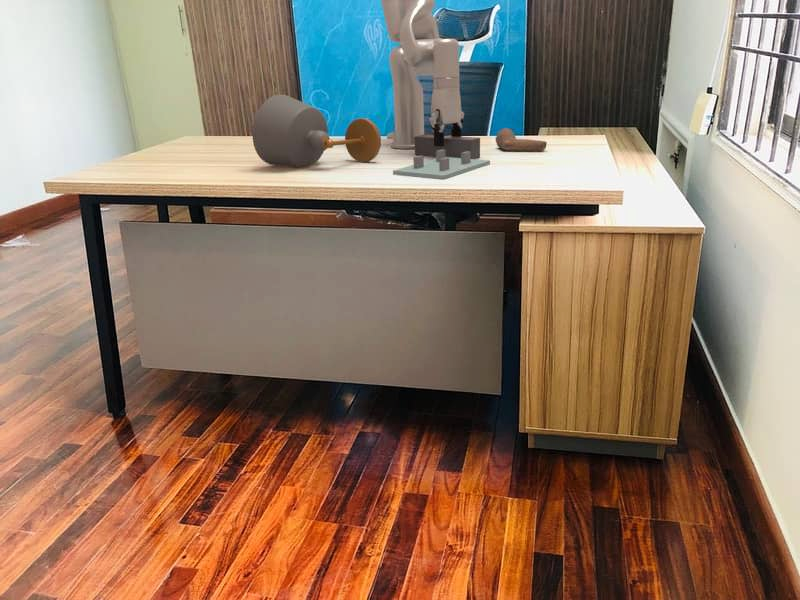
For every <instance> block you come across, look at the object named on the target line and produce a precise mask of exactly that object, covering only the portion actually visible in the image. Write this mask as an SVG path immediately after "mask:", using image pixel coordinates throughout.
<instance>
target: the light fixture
mask: <svg viewBox="0 0 800 600" xmlns="http://www.w3.org/2000/svg"><path fill="white" fill-rule="evenodd" d="M327 123H328V122H327V119H326V118H325V116H324V113H322V111H320V110H319V109H318V108H316V107H314V106H312V105H309V104H308V103H305V102H303V101H300V100H299V99H296V98H294V97H291V96H290V95H288V94H287V95H286V94H274V95H272V96H271V97H270V96H269V98H267V99H266V100H265V101H264V102H263V103H262V104H261V105H260V107H259V109H258V111H257V112H256V115H255V117H254V121H253V125H252V143H253V147H254V150H255V152H256V154H257V156H258V157H259V158H260V159H261V160H262V161H263V162H265V163H266V164H268V165H272V166H279V165H280V167H291V168H301V169H304V168H305V167H306V168H309V166H310V167H311V166H314V165H315V164H316V163H317V162H318V161H319V160H320V159H321V157H322V155H323V154H324V152H325V151H326V150H327V149H332V148H334V146H341V145H342V146H343V145H345V147H346V150H347V153H348V154H349V156H350V157H351V158H352V159H353V160H355V161H356V162H359V163H366V162H370V161H373V160H374V159H375V158H377V156H378V154H379V153H380V150H381V147H382V146H381V144H382V138H381V132H380V130H379V128H378V127H377V124H375V123H374V122H373V121H372V120H370V118H366V117H365V118H363V117H362V118H356V119H353V120H352V121H351V122H350V123H349V124H348V126H347V128H346V130H345V135H344V139H341V140H333V139H331V137H330V136H329V127H328V124H327Z"/></svg>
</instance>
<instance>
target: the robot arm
mask: <svg viewBox="0 0 800 600" xmlns="http://www.w3.org/2000/svg"><path fill="white" fill-rule="evenodd" d="M380 2H381V5H382V6H381V7H382V10H383V16H384V21H385V27H386V30H387V34H388V37H389V39H390V40H391V42H393V43H396V44H400V45H397V46H395V47H394V48H393V49H391V51H390V53H389V57H388V59H389V60H388V61H389V67H390V71H391V78H392V85H393V87H392V88H393V104H394V105H393V106H394V107H393V109H394V113H393V114H394V131H393V132H389V133H388V134H387V135H386V139H387V140H392V142H391V143H390V147H391V148H393V149H400V150H402V149H403V150H410V149H411V150H412V149H414V150H415V140H414V137H415V136H419V135H423V134H425V122H424V121H425V118H424V117H425V116H424V115H425V114H424V113H425V112H424V111H425V110H424V89H423V87H422V85H421V83H420V82H419V80H418V78H417V77H422V76H433V79H432V81H433V90H432V93H431V94H432V95H431V107H430V109H431V110H430V114H431V115H430V117H429V122H430V123H429V124H430V127H431V130H432V133H433V135H434V146H441V147H442V146H444V136H445V132H443V130H444V129H445V126H448V125H451V127H452V128H451V136H458V137H463V136H462V128H463V123H464V117H465V112H464V111H463V110H462V101H461V92H460V49H459V41H458V40H457V39H456V38H440V34H439V29H438V24H437V21H436V19H435V17H434V15H433V14H432V12H433V11H434V9H435V0H380Z"/></svg>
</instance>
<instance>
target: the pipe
mask: <svg viewBox="0 0 800 600" xmlns="http://www.w3.org/2000/svg"><path fill="white" fill-rule="evenodd" d="M495 143H496V145H497V147H499V148H500V149H501V150H503V151H505V152H524V153H525V152H526V153H527V152H528V153H529V152H531V153H542V151H543V152H544V151H545V150H546V148H547V145H548V144H547V143H548V142H547V141H545V140H537V139H526V138H517V137H516V135H515V133H514V130H512V129H511V128H508V127H504V128H502V129H500V130H498V132H497V134H496V136H495Z"/></svg>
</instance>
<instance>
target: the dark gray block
mask: <svg viewBox="0 0 800 600" xmlns="http://www.w3.org/2000/svg"><path fill="white" fill-rule="evenodd" d="M414 140H415V148H414V156H415V155H416V156H424V157H427V158H436V151H438V150H445V157H452V158H461V153H463V152H466V151H470V152H471V159H480V158H481V137H473V136H472V137H471V136H462V137H458V136H452V135H444V146H442V147H441V146H434V134H425V133H424V134H423V135H419V136H415V137H414ZM416 156H415V157H416Z"/></svg>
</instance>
